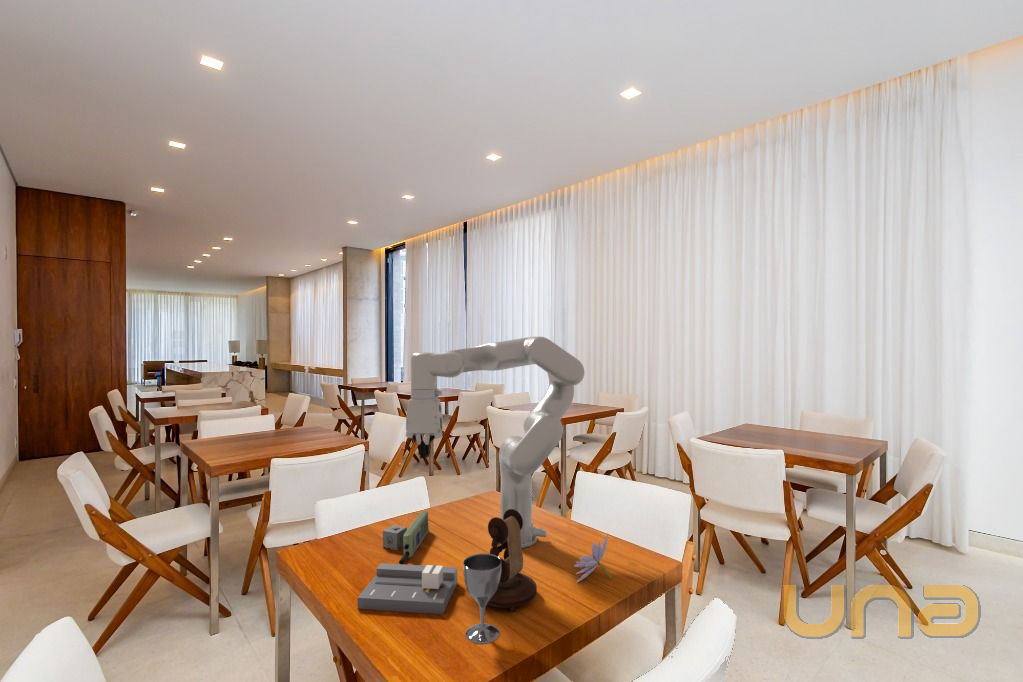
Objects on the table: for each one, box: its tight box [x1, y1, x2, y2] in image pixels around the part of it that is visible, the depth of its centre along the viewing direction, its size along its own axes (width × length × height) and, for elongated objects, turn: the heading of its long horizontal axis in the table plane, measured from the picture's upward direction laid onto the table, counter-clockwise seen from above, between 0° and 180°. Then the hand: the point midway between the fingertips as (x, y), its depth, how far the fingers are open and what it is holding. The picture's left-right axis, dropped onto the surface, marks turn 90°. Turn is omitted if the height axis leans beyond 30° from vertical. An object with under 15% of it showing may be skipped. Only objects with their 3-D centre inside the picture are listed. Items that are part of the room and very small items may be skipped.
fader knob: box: [422, 564, 444, 589], centre depth 116 cm, size 4×4×4 cm
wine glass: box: [462, 552, 501, 645], centre depth 102 cm, size 8×8×15 cm
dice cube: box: [382, 524, 408, 551], centre depth 146 cm, size 5×5×5 cm
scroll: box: [486, 509, 538, 613], centre depth 116 cm, size 15×15×20 cm
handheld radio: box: [398, 510, 430, 564], centre depth 144 cm, size 7×3×25 cm
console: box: [357, 562, 458, 615], centre depth 117 cm, size 20×14×4 cm
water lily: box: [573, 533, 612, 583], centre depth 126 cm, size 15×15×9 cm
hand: (424, 457), depth 142 cm, fingers closed
